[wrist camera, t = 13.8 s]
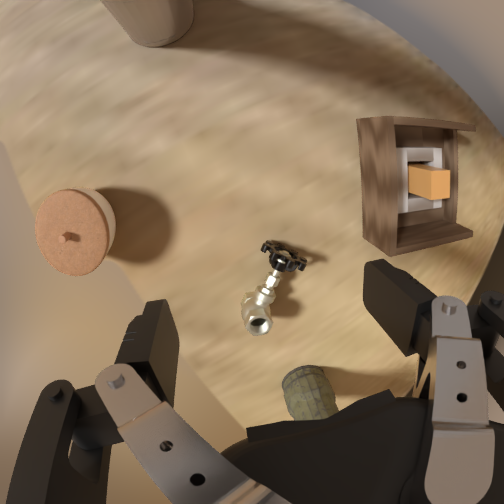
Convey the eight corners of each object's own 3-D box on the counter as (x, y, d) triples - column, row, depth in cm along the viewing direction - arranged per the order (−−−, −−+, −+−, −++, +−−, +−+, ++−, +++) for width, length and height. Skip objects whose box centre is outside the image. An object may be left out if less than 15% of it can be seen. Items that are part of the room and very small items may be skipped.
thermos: (267, 393, 52) (309, 555, 19) (305, 354, 49) (379, 530, 17) (300, 402, 54) (349, 545, 22) (337, 367, 52) (413, 516, 19)
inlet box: (356, 119, 35) (386, 116, 28) (442, 123, 37) (475, 125, 29) (362, 237, 42) (389, 256, 35) (442, 222, 43) (472, 236, 36)
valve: (266, 317, 45) (300, 251, 42) (274, 342, 39) (315, 269, 36) (227, 305, 43) (259, 235, 40) (230, 331, 37) (268, 252, 34)
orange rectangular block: (398, 164, 39) (431, 171, 31) (417, 163, 39) (450, 170, 31) (399, 189, 40) (431, 200, 33) (417, 187, 40) (449, 197, 33)
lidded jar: (50, 220, 35) (16, 241, 26) (88, 164, 33) (54, 172, 24) (98, 267, 38) (74, 298, 30) (140, 216, 37) (120, 238, 28)
